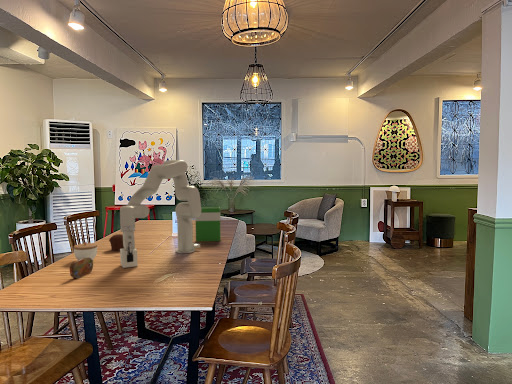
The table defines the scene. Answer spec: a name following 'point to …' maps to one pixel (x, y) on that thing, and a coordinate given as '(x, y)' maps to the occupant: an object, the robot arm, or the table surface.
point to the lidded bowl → (85, 250)
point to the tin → (81, 267)
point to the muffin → (116, 242)
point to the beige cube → (124, 258)
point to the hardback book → (208, 224)
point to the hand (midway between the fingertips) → (128, 259)
